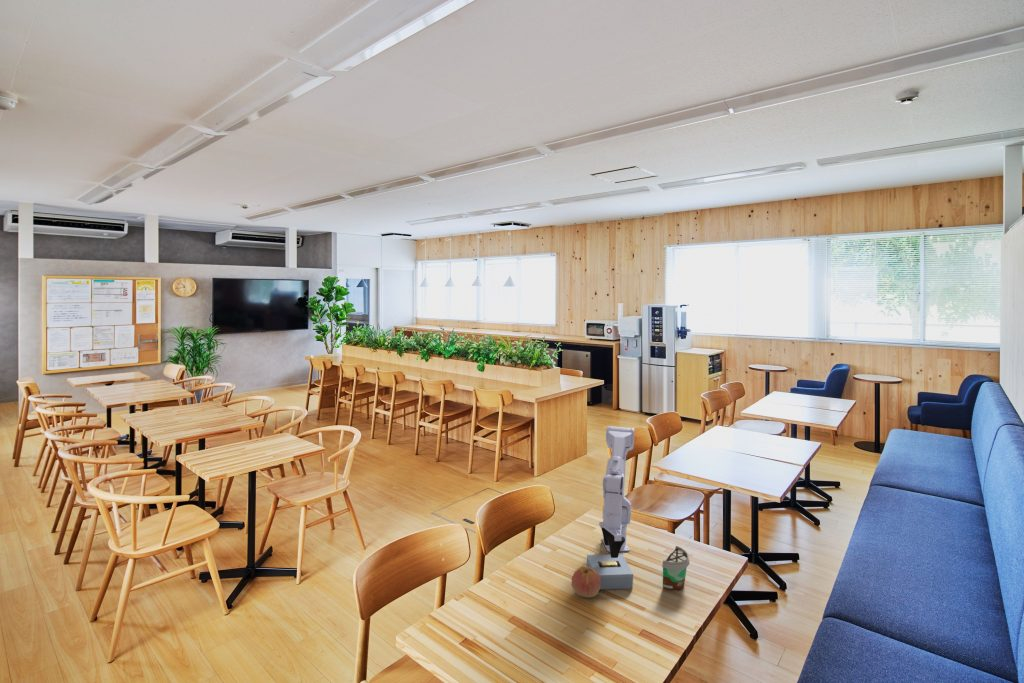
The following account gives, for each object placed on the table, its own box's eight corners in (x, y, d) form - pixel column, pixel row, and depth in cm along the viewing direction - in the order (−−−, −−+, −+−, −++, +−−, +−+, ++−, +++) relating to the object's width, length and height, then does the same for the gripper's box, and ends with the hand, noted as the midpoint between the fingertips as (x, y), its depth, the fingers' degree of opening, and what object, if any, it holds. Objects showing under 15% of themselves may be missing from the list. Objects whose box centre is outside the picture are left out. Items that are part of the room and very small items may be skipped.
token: (600, 575, 169) (600, 561, 169) (615, 575, 170) (615, 561, 169) (601, 579, 167) (602, 564, 167) (617, 578, 168) (617, 564, 167)
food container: (680, 598, 158) (682, 567, 157) (660, 590, 162) (662, 560, 161) (693, 580, 168) (695, 551, 167) (674, 573, 172) (676, 544, 171)
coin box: (586, 568, 174) (586, 554, 173) (621, 567, 175) (622, 553, 174) (595, 590, 162) (595, 575, 161) (632, 588, 163) (633, 574, 162)
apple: (599, 604, 154) (600, 579, 154) (570, 600, 156) (570, 575, 155) (600, 587, 163) (601, 564, 162) (572, 584, 165) (573, 560, 164)
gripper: (594, 501, 173) (593, 540, 174) (606, 522, 158) (604, 563, 160) (615, 501, 173) (614, 539, 175) (628, 521, 159) (626, 562, 161)
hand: (611, 551), depth 168 cm, fingers open, 7 cm apart
